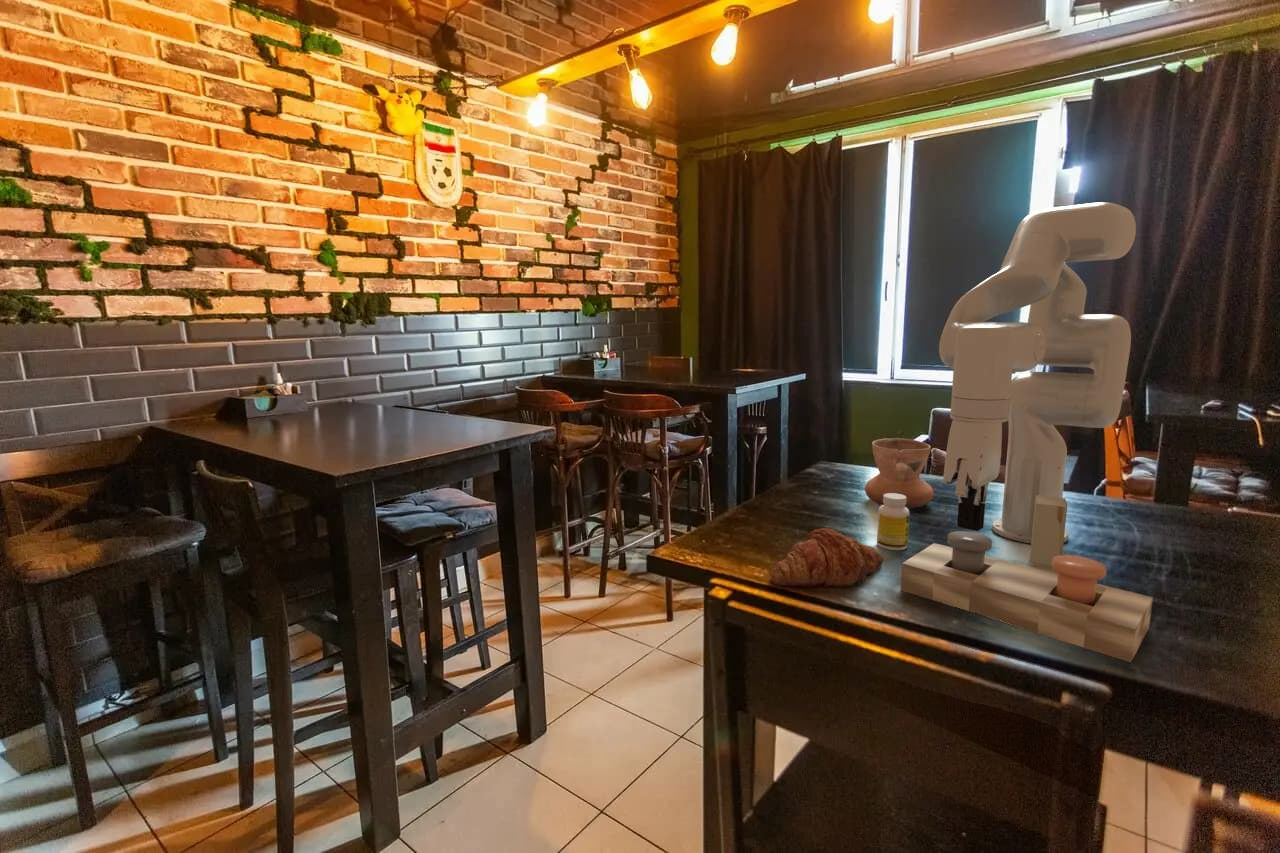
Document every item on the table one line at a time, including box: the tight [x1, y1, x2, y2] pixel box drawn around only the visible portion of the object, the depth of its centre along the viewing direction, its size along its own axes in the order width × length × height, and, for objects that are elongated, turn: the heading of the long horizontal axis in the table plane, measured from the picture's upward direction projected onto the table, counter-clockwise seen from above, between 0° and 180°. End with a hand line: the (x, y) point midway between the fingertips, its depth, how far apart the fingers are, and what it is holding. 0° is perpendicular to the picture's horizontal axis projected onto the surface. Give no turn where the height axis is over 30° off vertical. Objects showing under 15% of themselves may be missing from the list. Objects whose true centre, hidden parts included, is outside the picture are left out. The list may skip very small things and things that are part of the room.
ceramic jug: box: [864, 437, 935, 510], centre depth 139 cm, size 18×14×14 cm
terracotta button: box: [1052, 554, 1107, 607], centre depth 84 cm, size 6×6×6 cm
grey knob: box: [947, 530, 993, 576], centre depth 94 cm, size 6×6×6 cm
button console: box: [900, 542, 1154, 663], centre depth 90 cm, size 12×29×4 cm, turn 42°
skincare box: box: [1028, 495, 1068, 574], centre depth 102 cm, size 6×4×12 cm
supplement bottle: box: [876, 493, 911, 551], centre depth 114 cm, size 5×5×10 cm
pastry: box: [770, 527, 884, 589], centre depth 103 cm, size 17×15×8 cm
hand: (970, 527), depth 93 cm, fingers closed
